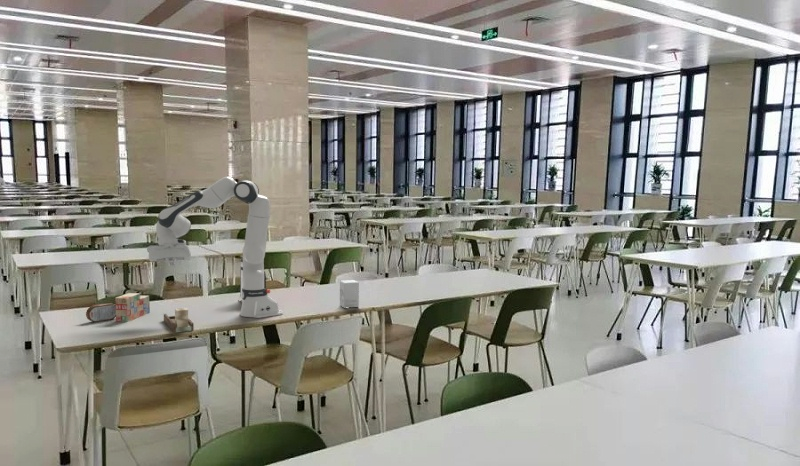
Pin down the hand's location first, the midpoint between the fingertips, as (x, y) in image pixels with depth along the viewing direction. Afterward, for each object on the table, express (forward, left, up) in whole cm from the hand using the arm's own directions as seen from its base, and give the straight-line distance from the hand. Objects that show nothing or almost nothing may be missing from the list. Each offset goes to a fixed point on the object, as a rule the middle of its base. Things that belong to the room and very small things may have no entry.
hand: (171, 266), depth 304 cm
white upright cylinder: (-50, -25, -28) cm, 62 cm away
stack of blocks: (+17, -14, -28) cm, 35 cm away
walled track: (0, +15, -27) cm, 31 cm away
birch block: (0, +24, -25) cm, 35 cm away
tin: (+31, -12, -28) cm, 43 cm away
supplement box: (-95, +11, -28) cm, 100 cm away
